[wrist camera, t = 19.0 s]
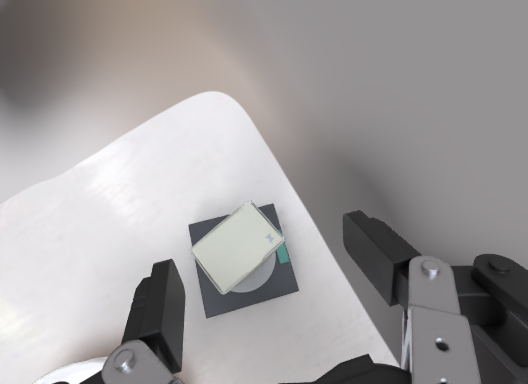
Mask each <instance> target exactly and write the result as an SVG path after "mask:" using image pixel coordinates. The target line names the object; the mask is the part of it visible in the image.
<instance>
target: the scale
mask: <svg viewBox="0 0 528 384" xmlns="http://www.w3.org/2000/svg"><path fill="white" fill-rule="evenodd" d="M258 209H259V210H260V211H261V212H262V213H263V214H264V215H265V216H266V218H267V219H268V220H269V221H270V222H271V223H272V224H273V226H274V227H275V228H276V229H277V230H278V232H279V233H280V234H281V235H282V231H281V228H280V225H279V221H278V218H277V214H276V211H275V208H274V204H270V205H266V206H262V207H258ZM230 215H231V214H230ZM228 216H229V215H226V216H222V217H218V218H214V219H210V220H206V221H202V222H198V223H194V224H190V225H189V231H190V236H191V241H192V246H194V245H195V244H196V243H197V242H199V241H200V240H201V239H202V238H203V237H204V236H205V235H207V234H208V233H209V232H210V231H211V230H212V229H214V228H215V227H216V226H217V225H218V224H220V223H221V222H222V221H223V220H225V219H226V218H227V217H228ZM282 236H283V235H282ZM195 262H196V267H197V273H198V278H199V283H200V288H201V293H202V299H203V304H204V309H205V314H206V318H210V317H213V316H216V315H220V314H223V313H226V312H230V311H233V310H236V309H240V308H243V307H246V306H250V305H253V304H256V303H260V302H263V301H266V300H270V299H273V298H276V297H280V296H283V295H286V294H290V293H293V292H296V291H299V289H298V286H297V282H296V279H295V275H294V272H293V269H292V265H291V262H290V259H289V255H288V252H287V248H286V245H285V242H283V243H282V244H281V246H280V247H279V248H278V249H277V250H276V251H275V252H274V254H273V255H272V256H271V257H270V258H269V259H268V260H266V261H265V262H264V263H263V264H262V265H261V266H260V267H259V268H258V269H257V270H256V271H255V272H253V273H252V274H251V275H250V276H249V277H248V278H247V279H245V280H244V281H243V282H242V283H241V284H239V285H238V286H237V287H236V288H234V289H232V290H231V291H229V292H228V293H226V294H221V293H220V292H219V291H218V289H217V288H216V287H215V285H214V284H213V283H212V282H211V280H210V279H209V277H208V276H207V275H206V273H205V272H204V271H203V269H202V268H201V266H200V265H199V264H198V262H197V261H196V259H195Z"/></svg>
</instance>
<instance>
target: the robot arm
mask: <svg viewBox="0 0 528 384" xmlns="http://www.w3.org/2000/svg"><path fill="white" fill-rule="evenodd" d="M343 241H344V246H345V248H346V250H347V252H348V254H349V255H350V256H351V258H352V259H353V260H354V261H355V263H356V264H357V265H358V267H359V268H360V269H361V270H362V272H363V273H364V274H365V275H366V277H367V278H368V279H369V281H370V282H371V283H372V284H373V286H374V287H375V288H376V289H377V291H378V292H379V293H380V295H381V296H382V297H383V299H384V300H385V301H386V302H387V304H388V305H389V306H390V307H391V306H393V305H397V304H400V305H401V306H402V307H403V308H404V309H403V334H402V364H401V368H398V367H395V366H392V365H387V364H379V363H373V361H372V359H371V358H370V356H369V354H366V355H363V356H360V357H357V358H354V359H351V360H348V361H345V362H342V363H340V364H338V365H337V366H335V367H334V368H333V369H331V370H330V371H328V372H327V373H326V374H324V375H323V376H321V377H320V378H319V379H317V380H316V381H314V382H304V383H279V384H481V380H480V375H479V370H478V365H477V360H476V355H475V350H474V345H473V341H472V336H471V331H470V328H471V329H472V331H473V332H474V333H475V334H476V335H477V336H478V337H479V338H480V339H481V340H482V341H483V342H484V343H485V344H486V346H487V347H488V348H489V349H490V350H491V351H492V352H493V353H494V354H495V355H496V356H497V357H498V358H499V359H500V360H501V361H502V363H503V364H504V365H505V366H506V367H507V368H508V369H509V370H510V371H511V372H512V373H513V374H514V375H515V376H516V377H517V379H518V380H520V382H521V383H522V384H528V330H527V329H526V328H525V327H524V326H523V325H522V324H521V323H519V322H518V321H517V320H516V319H515V318H514V317H513V316H511V315H510V312H512V313H514V314H515V315H516V316H517V317H519V319H521V320H522V321H523V322H524V323H525V324H526V325H527V326H528V270H526V269H525V268H523V267H522V266H520V265H519V264H518V263H516V262H514V261H513V260H511V259H509V258H506V257H503V256H499V255H495V254H482V255H479V256H477V257H476V258H475V260H474V263H473V266H449V265H448V264H447V263H446V262H444V261H442V260H441V259H438V258H435V257H432V256H422V255H421V254H420V253H419V252H418V251H416V250H415V249H414V248H413V247H412V246H411V245H410V244H408V243H407V242H406V241H405V240H404V239H403V238H402V237H400V236H398V234H397V233H396V232H394V231H392V229H391V228H390V227H389V226H388V225H387V224H385V223H384V222H382V221H380V220H378V219H375V218H368V217H367V216H366V215H365V214H364V213H363V212H362V211H360V210H358V211H354V212H350V213H346V214H344V215H343ZM184 313H185V290H184V286H183V283H182V280H181V278H180V275H179V273H178V270H177V268H176V265H175V263H174V261H173V259H169V260H165V261H161V262H157V263H154V265H153V268H152V273H151V277H147V278H143V280H142V281H141V283H140V284H139V285H138V287H137V288H136V291H135V294H134V298H133V302H132V305H131V311H130V313H129V316H128V320H127V324H126V327H125V331H124V335H123V339H122V342H121V345H120V346H119V347H118V348H116V349H115V350H114V351H113V352H112V353H111V354H110V355H109V357H108V358H107V359H106V361H105V363H104V365H103V368H102V370H100V371H99V372H97V373H96V374H94V375H92V376H91V377H89V378H87V379H86V380H84V381H82V382H80V383H79V384H184V383H183V382H182V381H181V380H180V379H179V378H175V377H174V376H173V375H172V374H175V373H178V372H181V370H182V351H183V332H184ZM53 384H69V383H68V382H65V381H60V382H55V383H53Z"/></svg>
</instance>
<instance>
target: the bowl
mask: <svg viewBox="0 0 528 384" xmlns="http://www.w3.org/2000/svg"><path fill="white" fill-rule="evenodd" d="M108 357H109V356H108ZM108 357H100V358H93V359H90V360H87V361H84V362H76V363H72V364H69V365H67V366H64V367H61V368H58V369H55V370H54V371H52V372H50V373H48V374H46V375H45V376H43V377H41V378H39V379H37V380H36V381H35V382H34V383H32V384H53V383H55V382H60V381H65V382H68V383H69V384H79V383H80V382H82V381H84V380H86V379H87V378H89V377H91V376H92V375H94V374H96V373H97V372H99V371H100V370H102V368H103V365H104V363H105V361H106V359H107V358H108Z"/></svg>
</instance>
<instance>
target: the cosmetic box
mask: <svg viewBox="0 0 528 384" xmlns="http://www.w3.org/2000/svg"><path fill="white" fill-rule="evenodd" d="M284 241H285V239H284V238H283V236H282V235H281V234H280V233H279V232H278V230H277V229H276V228H275V227H274V226H273V224H272V223H271V222H270V221H269V220H268V219H267V218H266V216H265V215H264V214H263V213H262V212H261V211H260V210H259V209H258V208H257V207H256V206H255V205H254V204H253V202H252V201H248V202H247V203H245V204H244V205H243V206H241V207H240V208H238V209H237V210H236V211H234V212H233V213H232V214H231V215H229V216H228V217H227V218H226V219H225V220H223V221H222V222H221V223H220V224H218V225H217V226H216V227H215V228H214V229H212V230H211V231H210V232H209V233H208V234H207V235H205V236H204V237H203V238H202V239H201V240H200V241H199V242H197V243H196V244H195V245H194V246H193V247H192V248H191V249H190V252H191V254H192V255H193V256H194V258H195V259H196V261H197V262H198V264H199V265H200V266H201V268H202V269H203V271H204V272H205V273H206V275H207V276H208V277H209V279H210V280H211V282H212V283H213V284H214V285H215V287H216V288H217V289H218V291H219V292H220V293H221V294H226V293H228V292H229V291H231V290H232V289H234V288H236V287H237V286H238V285H239V284H241V283H242V282H243V281H244V280H245V279H247V278H248V277H249V276H250V275H251V274H252V273H253V272H255V271H256V270H257V269H258V268H259V267H260V266H261V265H262V264H263V263H264V262H265V261H266V260H268V259H269V258H270V257H271V256H272V255H273V254H274V252H275V251H276V250H277V249H278V248H279V247H280V246H281V244H282V243H283V242H284Z"/></svg>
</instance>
